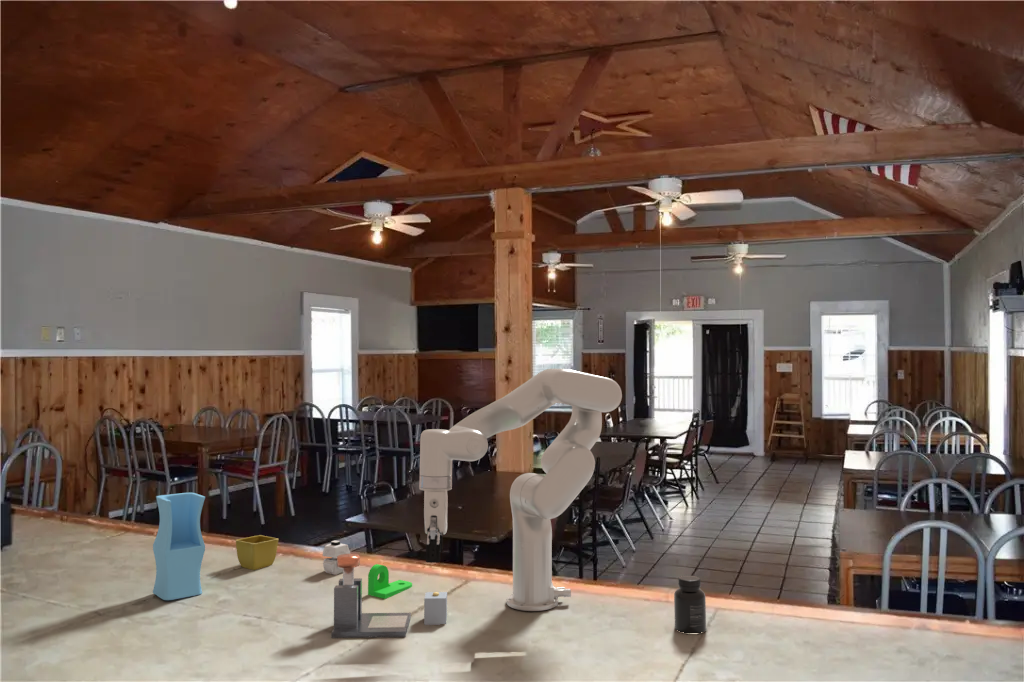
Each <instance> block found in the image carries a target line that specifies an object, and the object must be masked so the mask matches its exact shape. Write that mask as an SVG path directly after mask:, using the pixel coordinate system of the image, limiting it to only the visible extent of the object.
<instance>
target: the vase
mask: <svg viewBox="0 0 1024 682" xmlns="http://www.w3.org/2000/svg"><path fill="white" fill-rule="evenodd" d="M155 498H156V503H157V506H158V512H159V523H158V524H159V525H158V529H157V534H156V537H155V539H154V541H153V543H152V550H153V555H154V561H155V570H156V571H155V572H156V573H155V581H154V585H153V589H152V594H154V595H156V596H157V597H158V598H160V599H161V600H164V601H173V600H177V599H178V600H179V599H184V598H189V597H194V596H200V595H201V594H203V590H202V585H201V584H202V583H201V568H202V563H203V559H204V554H205V551H206V544H205V541H204V537H203V534H202V531H201V514H202V511H203V506H204V502H205V499H206V496H204V495H201V494H198V493H196V492H182V493H171V494H161V495H156V496H155Z"/></svg>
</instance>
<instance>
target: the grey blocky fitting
mask: <svg viewBox="0 0 1024 682" xmlns="http://www.w3.org/2000/svg"><path fill="white" fill-rule="evenodd" d="M342 554H351V551H350V549H349V545H348V544H345V543H341V541H340V540H332V541H331V542H330V543H328V544H326V545H324V547H323V551H322V557H327V558H324V559H323V561H322V564H323V569H324V571H325V573H326V574H330V575H338V574H343V568H340V567H337V556H339V555H342Z"/></svg>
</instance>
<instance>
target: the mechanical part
mask: <svg viewBox="0 0 1024 682" xmlns="http://www.w3.org/2000/svg"><path fill="white" fill-rule="evenodd" d="M389 574H390V571H389V568H388V567H387V566H386V565H383V564H379V563H376V564H373V566H371V568H370V570H369V571H368V575H367V595H368V596H372V597H375V598H379V599H384V600H386V599H387V600H388V599H389V598H391V597H393V596H395V595H398V594H400V593H402V592H405V591H407V590H409V589H411V588H412V587H413V583H412V582H411V581H408V580H403V579H398V580H395V581H392V582H389V579H390V578H389Z"/></svg>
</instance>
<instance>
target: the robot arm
mask: <svg viewBox="0 0 1024 682" xmlns="http://www.w3.org/2000/svg"><path fill="white" fill-rule="evenodd" d="M622 398H623V394H622V388H621V386H620V385H619V384H618V382H617V381H615V380H613V379H612V378H609V377H606V376H605V377H604V376H600V375H595V374H591V373H587V372H582V371H577V370H574V369H569V368H568V369H567V368H547V369H543V370H541V371H540V372H537V373H536V374H535V375H533V376H532V377H531V378H530V379H529V378H528V380H527V381H525V382H523V383H522V384H520V385H519V386H518V387H516V388H515V389H514V390H512V391H511V392H509V393H508V394H506V395H504V396H503V397H501V398H499V399H496V400H495V401H493V402H491V403H490V404H488V405H485V406H484V407H482V408H481V407H480V409H477V410H475V411H474V412H472V413H471V414H469V415H468V416H466V417H465V418H463V419H462V420H460V421H459V422H457V423H456V424H454V425H453V426H452V427H451V428H450V429H442V428H441V429H440V428H437V429H436V428H432V429H429V428H428V429H425V430H423V431H422V432H421V434H420V440H419V441H420V443H419V445H420V446H419V448H420V449H419V450H420V451H419V484H418V485H419V486H418V489H419V490H420V491H424V496H423V497H424V498H423V500H424V501H423V502H424V503H423V505H424V506H423V507H424V508H423V518H424V521H423V523H424V533H425V534H426V535H427V536H426V537H427V538H426V544H425V562H426V563H440V562H441V553H443V535H446V533H447V531H448V511H449V510H448V507H449V506H448V505H449V503H448V500H449V499H448V497H449V496H448V491H451V490H452V489H453V488H452V487H453V461H463V462H464V461H465V462H475V461H479V460H480V459H482V458H483V457H484V456H485V455H486V453H487V452H488V448H489V443H488V442H489V441H488V439H489V438H491V437H493V436H494V435H497V434H500V433H503V432H506V431H507V432H508V431H512V430H515V429H518V428H521V427H523V426H526V425H527V424H528V423H530V422H532V420H533V419H535V418H537V417H538V416H539V415H541V414H542V413H543V412H545V411H546V410H548V409H550V408H551V407H552V406H554V405H555V404H563V405H568V406H571V416H570V418H569V421H568V422H567V424H566V425H565V427H564V428H563V429H562V430H561V431H560V433H559V434H558V435H557V436H556V437H555V438H554V440H553V441H552V442H551V443H550V445H548V447H547V448H546V449H544V452H543V453H542V456H541V457H540V465H541V469H542V471H544V473H545V474H544V475H542V474H539V473H534V472H526V473H522V474H520V475H519V476H517V477H516V478H515V479H514V481H513V482H512V484H511V486H510V490H509V502H510V509H511V515H512V594H510V595H508V596H507V597H506V604H507V606H508V607H510V608H511V609H515V610H518V611H526V612H527V611H528V612H540V611H546V610H547V611H548V610H552V609H554V608H556V607H557V606H558V605H559V598H560V597H561V598H571V597H572V591H571V590H572V589H571V588H566V587H564V586H561V587H556V586H555V585H554V583H553V580H552V579H553V578H552V577H553V576H552V575H553V574H552V573H553V571H552V568H553V565H552V562H553V561H552V559H553V557H552V551H553V550H552V547H553V546H552V545H553V544H552V540H553V531H552V530H553V529H552V522H551V521H552V519H557V517H559V516H560V515H562V514H563V513H564V512H565V511H566V510H567V509H568V507H570V506H571V504H572V503H573V501H574V500H575V499H576V498H577V497H578V495H579V494H580V493H581V492H582V490H584V488H585V486H587V485H588V483H589V481H590V480H591V478H593V477H592V476H593V475H594V471H595V467H596V461H595V456H594V454H593V452H592V451H591V449H592V448H593V447H594V445H595V444H596V443H597V441H598V440H599V438H600V436H601V432H602V429H603V428H602V427H603V424H602V423H603V416H602V413H610V412H612V411H615V409H617V408H618V407H619V406H620V404H621V403H622V402H621V401H622Z"/></svg>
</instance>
